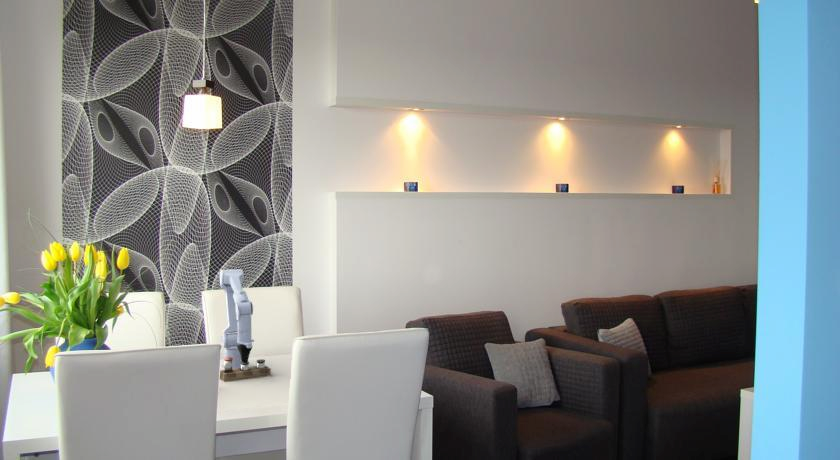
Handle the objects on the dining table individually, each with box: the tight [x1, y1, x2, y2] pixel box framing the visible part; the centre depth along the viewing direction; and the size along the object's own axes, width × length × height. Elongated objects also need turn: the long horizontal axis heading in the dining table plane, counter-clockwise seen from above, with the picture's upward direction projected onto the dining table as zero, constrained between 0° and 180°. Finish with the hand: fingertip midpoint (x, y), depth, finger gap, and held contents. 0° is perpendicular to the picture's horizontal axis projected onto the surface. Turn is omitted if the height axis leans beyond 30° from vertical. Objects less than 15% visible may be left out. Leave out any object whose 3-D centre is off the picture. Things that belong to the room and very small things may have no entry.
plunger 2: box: [256, 358, 266, 369], centre depth 313 cm, size 4×4×6 cm
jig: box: [219, 365, 272, 382], centre depth 309 cm, size 8×20×3 cm, turn 121°
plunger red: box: [223, 357, 233, 372], centre depth 306 cm, size 4×4×6 cm
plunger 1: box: [241, 361, 250, 371], centre depth 309 cm, size 4×4×6 cm
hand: (244, 362), depth 309 cm, fingers closed
